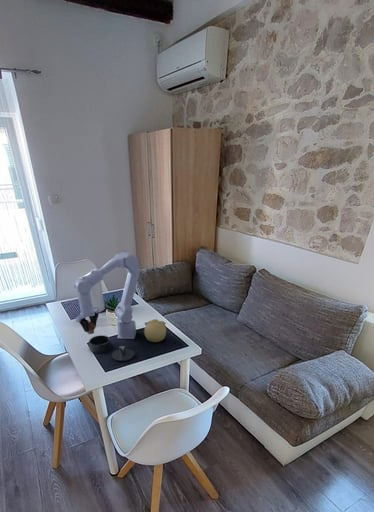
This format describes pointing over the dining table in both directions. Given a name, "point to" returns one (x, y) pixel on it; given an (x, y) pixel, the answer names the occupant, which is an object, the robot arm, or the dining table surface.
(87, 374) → the dining table surface
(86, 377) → the dining table surface
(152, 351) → the dining table surface
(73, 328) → the dining table surface
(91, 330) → the mushroom
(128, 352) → the lid
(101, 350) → the pot
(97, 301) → the canister
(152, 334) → the sculpture
